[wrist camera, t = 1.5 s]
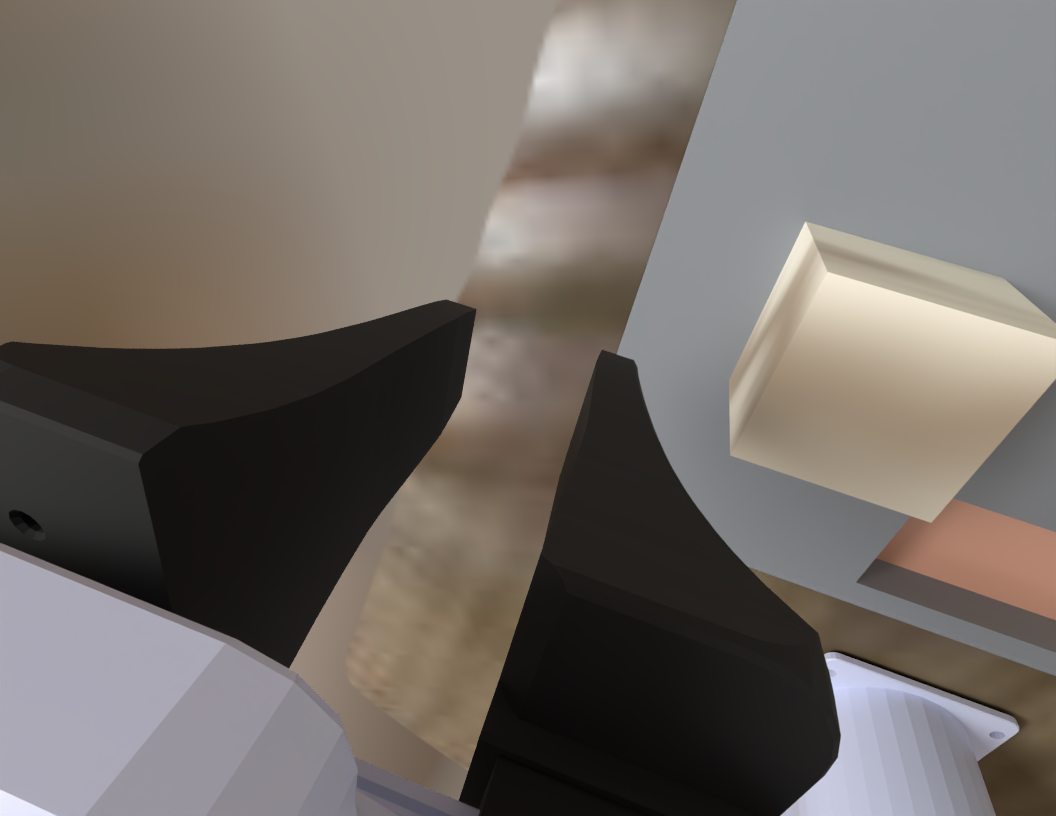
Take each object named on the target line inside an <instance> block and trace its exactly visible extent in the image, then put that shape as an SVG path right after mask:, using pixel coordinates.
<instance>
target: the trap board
mask: <svg viewBox="0 0 1056 816" xmlns="http://www.w3.org/2000/svg"><path fill="white" fill-rule="evenodd" d="M805 221H806V222H809V223H813V224H816V225H820V226H823V227H827V228H830V229H834V230H837V231H841V232H844V233H848V234H851V235H855V236H858V237H862V238H865V239H869V240H872V241H876V242H879V243H883V244H886V245H890V246H893V247H897V248H900V249H903V250H907V251H910V252H914V253H917V254H921V255H924V256H928V257H931V258H935V259H938V260H942V261H945V262H949V263H952V264H956V265H959V266H963V267H966V268H970V269H973V270H977V271H980V272H984V273H987V274H991V275H994V276H998V277H1001V278H1004V279H1005V280H1007V281H1008V282H1009V283H1010V284H1011V285H1012V286H1013V287H1015V288H1016V289H1017V290H1018V291H1019V292H1020V293H1021V294H1023V295H1024V296H1025V297H1026V298H1027V299H1028V300H1029V301H1031V302H1032V303H1033V304H1034V305H1035V306H1036V307H1038V308H1039V309H1040V310H1041V311H1042V312H1043V313H1044V314H1046V315H1047V316H1048V317H1049V318H1050V319H1051V320H1052V321H1054V322H1055V323H1056V0H737V2H736V5H735V8H734V11H733V14H732V17H731V20H730V23H729V26H728V29H727V32H726V34H725V37H724V40H723V43H722V46H721V49H720V52H719V55H718V58H717V61H716V64H715V67H714V70H713V73H712V76H711V78H710V81H709V84H708V87H707V90H706V93H705V96H704V99H703V102H702V105H701V108H700V111H699V114H698V117H697V120H696V123H695V125H694V128H693V131H692V134H691V137H690V140H689V143H688V146H687V149H686V152H685V155H684V158H683V161H682V164H681V167H680V169H679V172H678V175H677V178H676V181H675V184H674V187H673V190H672V193H671V196H670V199H669V202H668V205H667V208H666V211H665V214H664V216H663V219H662V222H661V225H660V228H659V231H658V234H657V237H656V240H655V243H654V246H653V249H652V252H651V255H650V258H649V260H648V263H647V266H646V269H645V272H644V275H643V278H642V281H641V284H640V287H639V290H638V293H637V296H636V299H635V302H634V305H633V307H632V310H631V313H630V316H629V319H628V322H627V325H626V328H625V331H624V334H623V337H622V340H621V343H620V346H619V349H618V351H617V355H620V356H623V357H626V358H629V359H632V360H634V361H635V363H636V365H637V367H638V375H639V380H640V385H641V389H642V393H643V396H644V400H645V403H646V406H647V409H648V412H649V415H650V418H651V421H652V423H653V426H654V429H655V431H656V434H657V436H658V439H659V441H660V443H661V445H662V448H663V450H664V452H665V454H666V456H667V458H668V460H669V462H670V464H671V466H672V468H673V470H674V472H675V473H676V475H677V477H678V478H679V480H680V482H681V483H682V485H683V487H684V488H685V490H686V491H687V493H688V494H689V496H690V497H691V499H692V500H693V502H694V503H695V504H696V506H697V507H698V509H699V510H700V511H701V512H702V514H703V515H704V516H705V518H706V519H707V520H708V522H709V523H710V524H711V526H712V527H713V528H714V529H715V531H716V532H717V533H718V534H719V536H720V537H721V538H722V539H723V540H724V541H725V543H726V544H727V545H728V546H729V547H730V548H731V550H732V551H733V552H734V553H735V554H736V555H737V556H738V557H739V558H740V559H741V560H742V561H743V562H744V564H745V565H746V566H747V567H750V568H753V569H756V570H758V571H761V572H764V573H767V574H770V575H773V576H775V577H778V578H781V579H784V580H787V581H789V582H792V583H795V584H798V585H801V586H804V587H806V588H809V589H812V590H815V591H818V592H820V593H823V594H826V595H829V596H832V597H835V598H837V599H840V600H843V601H846V602H849V603H851V604H854V605H857V606H860V607H863V608H866V609H868V610H871V611H874V612H877V613H880V614H882V615H885V616H888V617H891V618H894V619H897V620H899V621H902V622H905V623H908V624H911V625H913V626H916V627H919V628H922V629H925V630H928V631H930V632H933V633H936V634H939V635H942V636H944V637H947V638H950V639H953V640H956V641H959V642H961V643H964V644H967V645H970V646H973V647H975V648H978V649H981V650H984V651H987V652H990V653H992V654H995V655H998V656H1001V657H1004V658H1006V659H1009V660H1012V661H1015V662H1018V663H1021V664H1023V665H1026V666H1029V667H1032V668H1035V669H1037V670H1040V671H1043V672H1046V673H1049V674H1052V675H1054V676H1056V379H1055V380H1054V381H1053V383H1052V384H1051V385H1050V386H1049V387H1048V388H1047V390H1046V391H1045V392H1044V393H1043V394H1042V395H1041V397H1040V398H1039V399H1038V400H1037V401H1036V402H1035V403H1034V405H1033V406H1032V407H1031V408H1030V409H1029V410H1028V412H1027V413H1026V414H1025V415H1024V416H1023V417H1022V419H1021V420H1020V421H1019V422H1018V423H1017V424H1016V425H1015V427H1014V428H1013V429H1012V430H1011V431H1010V432H1009V434H1008V435H1007V436H1006V437H1005V438H1004V439H1003V441H1002V442H1001V443H1000V444H999V445H998V446H997V447H996V449H995V450H994V451H993V452H992V453H991V454H990V456H989V457H988V458H987V459H986V460H985V461H984V463H983V464H982V465H981V466H980V467H979V468H978V469H977V471H976V472H975V473H974V474H973V475H972V476H971V478H970V479H969V480H968V481H967V482H966V483H965V484H964V486H963V487H962V488H961V489H960V490H959V491H958V493H957V494H956V495H955V496H954V497H953V498H952V500H951V501H950V502H949V503H948V504H947V505H946V506H945V508H944V509H943V510H942V511H941V512H940V513H939V515H938V516H937V517H936V518H935V519H934V520H933V522H932V523H930V522H927V521H924V520H921V519H918V518H915V517H912V516H909V515H906V514H903V513H900V512H897V511H894V510H891V509H888V508H885V507H882V506H879V505H876V504H873V503H870V502H867V501H865V500H862V499H859V498H856V497H853V496H850V495H847V494H844V493H841V492H838V491H835V490H832V489H829V488H826V487H823V486H820V485H817V484H814V483H811V482H808V481H805V480H802V479H799V478H796V477H793V476H790V475H787V474H784V473H781V472H778V471H775V470H772V469H769V468H766V467H763V466H760V465H757V464H754V463H751V462H748V461H745V460H742V459H739V458H736V457H733V456H730V417H729V379H730V377H731V375H732V373H733V371H734V369H735V366H736V364H737V362H738V360H739V358H740V356H741V354H742V352H743V350H744V348H745V346H746V344H747V342H748V340H749V337H750V335H751V333H752V331H753V329H754V327H755V325H756V323H757V321H758V319H759V317H760V315H761V313H762V311H763V308H764V306H765V304H766V302H767V300H768V298H769V296H770V294H771V292H772V290H773V288H774V286H775V284H776V281H777V279H778V277H779V275H780V273H781V271H782V269H783V267H784V265H785V263H786V261H787V259H788V257H789V255H790V252H791V250H792V248H793V246H794V244H795V242H796V240H797V238H798V236H799V234H800V232H801V230H802V228H803V226H804V223H805Z"/></svg>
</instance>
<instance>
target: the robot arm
mask: <svg viewBox="0 0 1056 816" xmlns="http://www.w3.org/2000/svg"><path fill="white" fill-rule="evenodd" d="M475 315H476V309H474V308H471V307H468V306H465V305H462V304H459V303H456V302H452V301H449V300H442V301H437V302H433V303H429V304H425V305H422V306H419V307H415V308H412V309H409V310H405V311H402V312H399V313H395V314H392V315H389V316H385V317H382V318H378V319H375V320H372V321H368V322H364V323H360V324H356V325H352V326H348V327H344V328H340V329H336V330H332V331H328V332H324V333H319V334H314V335H309V336H304V337H298V338H292V339H285V340H279V341H273V342H265V343H256V344H244V345H232V346H218V347H205V348H180V349H121V348H96V347H81V346H64V345H49V344H33V343H21V342H9V343H5V344H3V345H1V346H0V816H996V814H995V812H994V809H993V806H992V803H991V800H990V797H989V794H988V791H987V789H986V786H985V783H984V780H983V777H982V774H981V771H980V768H979V766H978V763H977V761H979V760H980V759H982V758H983V757H984V756H986V755H987V754H989V753H990V752H991V751H993V750H994V749H996V748H997V747H998V746H1000V745H1001V744H1002V743H1004V742H1005V741H1007V740H1008V739H1009V738H1011V737H1012V736H1014V735H1015V734H1016V733H1017V732H1018V731H1019V726H1018V723H1017V721H1016V719H1015V718H1014V717H1012V716H1010V715H1007V714H1005V713H1002V712H999V711H996V710H994V709H991V708H988V707H985V706H983V705H980V704H977V703H975V702H972V701H969V700H966V699H964V698H961V697H958V696H955V695H953V694H950V693H947V692H944V691H942V690H939V689H936V688H933V687H931V686H928V685H925V684H922V683H920V682H917V681H914V680H912V679H909V678H906V677H903V676H901V675H898V674H895V673H892V672H890V671H887V670H884V669H881V668H879V667H876V666H873V665H870V664H868V663H865V662H862V661H859V660H857V659H854V658H851V657H848V656H846V655H843V654H840V653H837V652H829V653H826V654H824V653H823V650H822V646H821V642H820V638H819V634H818V633H817V632H816V631H815V630H814V629H813V628H812V627H811V626H810V625H809V624H807V623H806V622H805V621H804V620H803V619H802V618H801V617H800V616H799V615H798V614H796V613H795V612H794V611H793V610H792V609H791V608H790V607H789V606H788V605H787V604H785V603H784V602H783V601H782V600H781V599H780V598H779V597H778V596H777V595H776V594H774V593H773V592H772V591H771V590H770V589H769V588H768V587H767V586H766V585H765V584H764V583H763V582H762V581H761V580H760V579H759V578H758V577H757V576H756V575H755V574H754V573H753V572H752V571H751V570H750V569H749V568H748V567H747V566H746V565H745V564H744V562H743V561H742V560H741V559H740V558H739V557H738V556H737V555H736V554H735V553H734V552H733V551H732V550H731V548H730V547H729V546H728V545H727V544H726V543H725V541H724V540H723V539H722V538H721V537H720V536H719V534H718V533H717V532H716V531H715V529H714V528H713V527H712V526H711V524H710V523H709V522H708V520H707V519H706V518H705V516H704V515H703V514H702V512H701V511H700V510H699V509H698V507H697V506H696V504H695V503H694V502H693V500H692V499H691V497H690V496H689V494H688V493H687V491H686V490H685V488H684V487H683V485H682V483H681V482H680V480H679V478H678V477H677V475H676V473H675V472H674V470H673V468H672V466H671V464H670V462H669V460H668V458H667V456H666V454H665V452H664V450H663V448H662V445H661V443H660V441H659V439H658V436H657V434H656V431H655V429H654V426H653V423H652V421H651V418H650V415H649V412H648V409H647V406H646V403H645V400H644V396H643V393H642V389H641V385H640V380H639V375H638V367H637V365H636V363H635V361H634V360H632V359H629V358H626V357H623V356H620V355H617V354H614V353H610V352H607V351H604V350H602V351H601V353H600V355H599V357H598V360H597V362H596V365H595V368H594V371H593V374H592V377H591V381H590V384H589V387H588V390H587V393H586V396H585V399H584V402H583V405H582V409H581V412H580V415H579V418H578V421H577V424H576V427H575V430H574V434H573V437H572V440H571V443H570V446H569V449H568V452H567V455H566V458H565V462H564V465H563V468H562V471H561V474H560V477H559V482H558V486H557V490H556V494H555V498H554V503H553V507H552V511H551V515H550V520H549V524H548V528H547V532H546V537H545V541H544V545H543V549H542V552H541V554H540V557H539V560H538V564H537V567H536V570H535V573H534V576H533V579H532V582H531V585H530V588H529V591H528V594H527V597H526V600H525V603H524V606H523V609H522V612H521V615H520V618H519V621H518V624H517V627H516V630H515V633H514V636H513V640H512V643H511V646H510V649H509V652H508V655H507V658H506V661H505V664H504V667H503V670H502V673H501V676H500V679H499V682H498V685H497V688H496V691H495V693H494V696H493V699H492V702H491V705H490V708H489V711H488V714H487V716H486V719H485V722H484V725H483V728H482V731H481V734H480V737H479V740H478V743H477V747H476V750H475V753H474V756H473V759H472V762H471V765H470V768H469V771H468V774H467V777H466V780H465V783H464V786H463V789H462V792H461V796H460V799H459V801H457V800H455V799H452V798H450V797H448V796H445V795H443V794H441V793H438V792H436V791H434V790H431V789H429V788H426V787H424V786H422V785H419V784H417V783H415V782H412V781H410V780H408V779H405V778H403V777H400V776H398V775H396V774H393V773H391V772H389V771H386V770H384V769H381V768H379V767H377V766H374V765H372V764H369V763H367V762H365V761H363V760H360V759H358V758H356V757H354V755H353V751H352V749H351V746H350V743H349V740H348V738H347V735H346V732H345V730H344V727H343V724H342V722H341V719H340V716H339V715H338V714H337V713H336V712H335V711H334V710H333V709H332V708H331V707H330V706H329V705H328V704H327V703H326V702H325V701H324V700H323V699H322V698H321V697H320V696H319V695H318V694H317V693H316V692H315V691H314V690H313V689H312V688H311V687H310V686H309V685H308V684H307V683H306V682H305V681H304V680H303V679H302V678H301V677H300V676H299V675H298V674H297V673H295V672H294V671H292V670H290V669H289V667H290V666H291V664H292V662H293V660H294V658H295V657H296V655H297V653H298V651H299V649H300V647H301V646H302V644H303V642H304V640H305V638H306V636H307V634H308V633H309V631H310V629H311V627H312V625H313V624H314V622H315V620H316V618H317V616H318V615H319V613H320V611H321V609H322V608H323V606H324V604H325V603H326V601H327V599H328V597H329V596H330V594H331V592H332V590H333V589H334V587H335V585H336V584H337V582H338V580H339V578H340V577H341V575H342V573H343V571H344V570H345V568H346V566H347V565H348V563H349V562H350V560H351V558H352V556H353V555H354V553H355V552H356V550H357V548H358V547H359V545H360V543H361V542H362V540H363V538H364V537H365V535H366V533H367V532H368V530H369V529H370V527H371V526H372V525H373V523H374V522H375V520H376V519H377V517H378V516H379V515H380V513H381V512H382V511H383V509H384V508H385V506H386V505H387V504H388V503H389V501H390V500H391V499H392V498H393V496H394V495H395V494H396V492H397V491H398V490H399V488H400V487H401V486H402V485H403V483H404V482H405V481H406V479H407V478H408V477H409V476H410V474H411V473H412V472H413V470H414V469H415V468H416V466H417V465H418V464H419V463H420V461H421V460H422V459H423V457H424V456H425V455H426V453H427V452H428V451H429V449H430V448H431V447H432V445H433V444H434V443H435V441H436V440H437V439H438V437H439V436H440V435H441V433H442V431H443V429H444V428H445V426H446V424H447V422H448V421H449V419H450V417H451V415H452V413H453V412H454V410H455V408H456V406H457V404H458V402H459V400H460V399H461V396H462V390H463V384H464V378H465V373H466V367H467V361H468V355H469V349H470V344H471V338H472V332H473V326H474V320H475Z"/></svg>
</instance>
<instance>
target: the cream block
mask: <svg viewBox="0 0 1056 816" xmlns="http://www.w3.org/2000/svg"><path fill="white" fill-rule="evenodd" d="M1055 379H1056V323H1055V322H1054V321H1052V320H1051V319H1050V318H1049V317H1048V316H1047V315H1046V314H1044V313H1043V312H1042V311H1041V310H1040V309H1039V308H1038V307H1036V306H1035V305H1034V304H1033V303H1032V302H1031V301H1029V300H1028V299H1027V298H1026V297H1025V296H1024V295H1023V294H1021V293H1020V292H1019V291H1018V290H1017V289H1016V288H1015V287H1013V286H1012V285H1011V284H1010V283H1009V282H1008V281H1007V280H1005V279H1004V278H1001V277H998V276H994V275H991V274H987V273H984V272H980V271H977V270H973V269H970V268H966V267H963V266H959V265H956V264H952V263H949V262H945V261H942V260H938V259H935V258H931V257H928V256H924V255H921V254H917V253H914V252H910V251H907V250H903V249H900V248H897V247H893V246H890V245H886V244H883V243H879V242H876V241H872V240H869V239H865V238H862V237H858V236H855V235H851V234H848V233H844V232H841V231H837V230H834V229H830V228H827V227H823V226H820V225H816V224H813V223H809V222H806V221H805V223H804V226H803V228H802V230H801V232H800V234H799V236H798V238H797V240H796V242H795V244H794V246H793V248H792V250H791V252H790V255H789V257H788V259H787V261H786V263H785V265H784V267H783V269H782V271H781V273H780V275H779V277H778V279H777V281H776V284H775V286H774V288H773V290H772V292H771V294H770V296H769V298H768V300H767V302H766V304H765V306H764V308H763V311H762V313H761V315H760V317H759V319H758V321H757V323H756V325H755V327H754V329H753V331H752V333H751V335H750V337H749V340H748V342H747V344H746V346H745V348H744V350H743V352H742V354H741V356H740V358H739V360H738V362H737V364H736V366H735V369H734V371H733V373H732V375H731V377H730V379H729V417H730V456H733V457H736V458H739V459H742V460H745V461H748V462H751V463H754V464H757V465H760V466H763V467H766V468H769V469H772V470H775V471H778V472H781V473H784V474H787V475H790V476H793V477H796V478H799V479H802V480H805V481H808V482H811V483H814V484H817V485H820V486H823V487H826V488H829V489H832V490H835V491H838V492H841V493H844V494H847V495H850V496H853V497H856V498H859V499H862V500H865V501H867V502H870V503H873V504H876V505H879V506H882V507H885V508H888V509H891V510H894V511H897V512H900V513H903V514H906V515H909V516H912V517H915V518H918V519H921V520H924V521H927V522H930V523H932V522H933V520H934V519H935V518H936V517H937V516H938V515H939V513H940V512H941V511H942V510H943V509H944V508H945V506H946V505H947V504H948V503H949V502H950V501H951V500H952V498H953V497H954V496H955V495H956V494H957V493H958V491H959V490H960V489H961V488H962V487H963V486H964V484H965V483H966V482H967V481H968V480H969V479H970V478H971V476H972V475H973V474H974V473H975V472H976V471H977V469H978V468H979V467H980V466H981V465H982V464H983V463H984V461H985V460H986V459H987V458H988V457H989V456H990V454H991V453H992V452H993V451H994V450H995V449H996V447H997V446H998V445H999V444H1000V443H1001V442H1002V441H1003V439H1004V438H1005V437H1006V436H1007V435H1008V434H1009V432H1010V431H1011V430H1012V429H1013V428H1014V427H1015V425H1016V424H1017V423H1018V422H1019V421H1020V420H1021V419H1022V417H1023V416H1024V415H1025V414H1026V413H1027V412H1028V410H1029V409H1030V408H1031V407H1032V406H1033V405H1034V403H1035V402H1036V401H1037V400H1038V399H1039V398H1040V397H1041V395H1042V394H1043V393H1044V392H1045V391H1046V390H1047V388H1048V387H1049V386H1050V385H1051V384H1052V383H1053V381H1054V380H1055Z"/></svg>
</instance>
